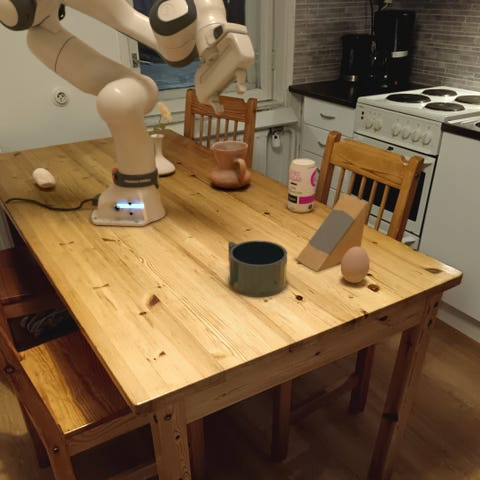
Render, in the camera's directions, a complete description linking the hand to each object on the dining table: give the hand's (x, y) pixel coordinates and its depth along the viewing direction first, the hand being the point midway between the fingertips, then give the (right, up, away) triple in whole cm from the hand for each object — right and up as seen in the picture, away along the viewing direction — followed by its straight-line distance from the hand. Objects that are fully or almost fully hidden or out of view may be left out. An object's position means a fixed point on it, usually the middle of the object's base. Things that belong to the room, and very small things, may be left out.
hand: (230, 103), depth 119 cm
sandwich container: (+25, -35, +13) cm, 45 cm away
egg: (+30, -42, +3) cm, 51 cm away
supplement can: (+21, -16, +42) cm, 50 cm away
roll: (-66, -5, +59) cm, 89 cm away
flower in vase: (-28, +5, +73) cm, 78 cm away
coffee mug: (+5, -41, +4) cm, 42 cm away
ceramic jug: (-1, -4, +60) cm, 61 cm away
